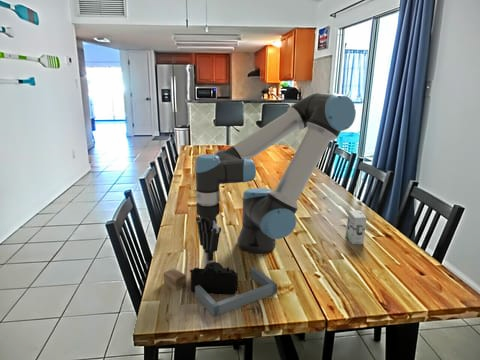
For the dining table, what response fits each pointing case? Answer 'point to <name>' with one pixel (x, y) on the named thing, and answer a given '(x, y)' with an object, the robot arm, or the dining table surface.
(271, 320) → the dining table surface
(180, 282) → the oak chock block
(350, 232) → the ink box
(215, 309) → the bay
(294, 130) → the robot arm
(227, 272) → the film camera
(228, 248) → the dining table surface
